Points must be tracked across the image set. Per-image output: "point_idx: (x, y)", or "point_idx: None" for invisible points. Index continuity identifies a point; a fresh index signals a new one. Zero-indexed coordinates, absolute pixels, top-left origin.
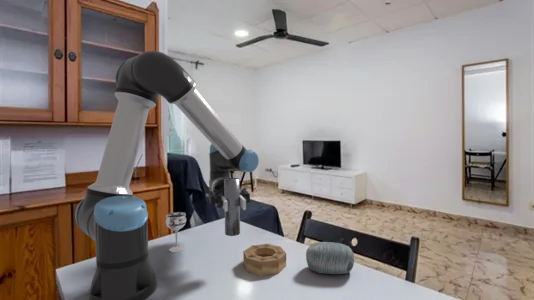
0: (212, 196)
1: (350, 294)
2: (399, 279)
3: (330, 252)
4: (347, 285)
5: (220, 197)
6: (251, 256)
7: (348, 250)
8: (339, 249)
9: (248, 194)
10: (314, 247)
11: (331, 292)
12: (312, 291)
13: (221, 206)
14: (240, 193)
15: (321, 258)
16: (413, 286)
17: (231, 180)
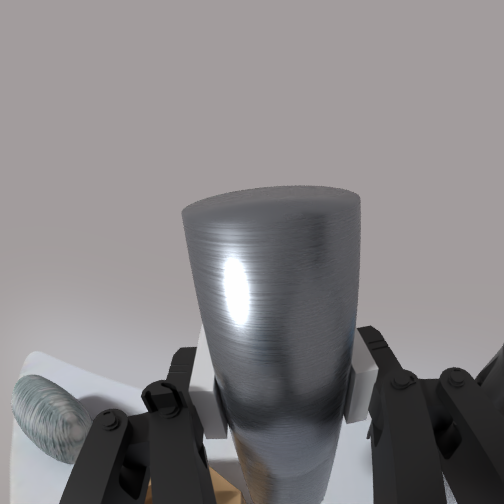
0: (457, 371)
1: (99, 378)
2: (21, 377)
3: (55, 386)
4: (82, 394)
5: (387, 377)
6: (222, 497)
7: (30, 375)
8: (38, 380)
9: (112, 412)
10: (62, 406)
11: (117, 389)
12: (142, 400)
13: (368, 433)
14: (161, 475)
15: (75, 399)
16: (28, 363)
17: (279, 186)
